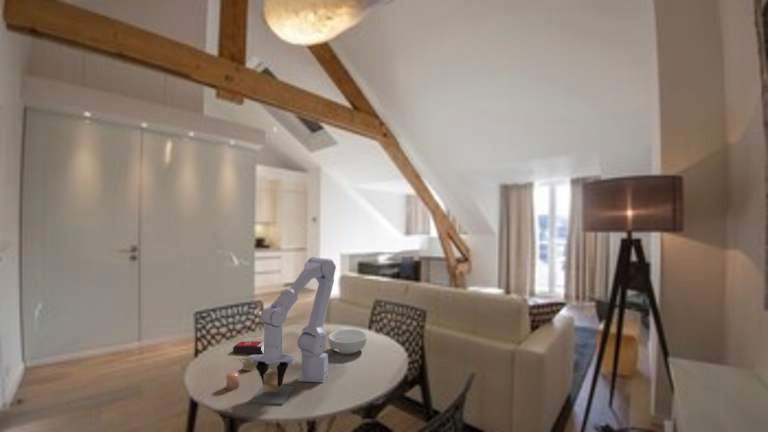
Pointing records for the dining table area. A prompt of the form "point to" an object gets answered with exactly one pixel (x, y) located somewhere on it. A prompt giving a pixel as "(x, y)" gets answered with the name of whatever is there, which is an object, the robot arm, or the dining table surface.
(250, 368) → the cream ribbed piece
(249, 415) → the dining table surface
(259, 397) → the slate mat
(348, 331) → the cereal bowl
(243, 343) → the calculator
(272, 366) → the sage block
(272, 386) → the oak block
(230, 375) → the terracotta cylinder
